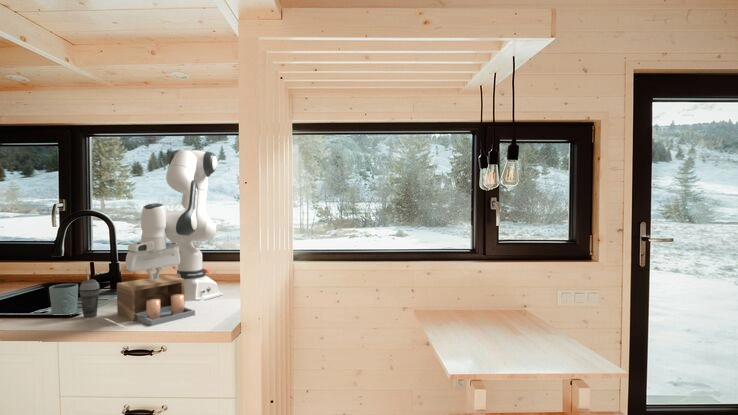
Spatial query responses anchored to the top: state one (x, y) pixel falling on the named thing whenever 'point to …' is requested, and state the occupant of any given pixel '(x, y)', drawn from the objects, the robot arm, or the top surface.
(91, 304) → the beverage cup
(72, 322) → the top surface
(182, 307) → the peach glossy rounded part
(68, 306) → the teal cup
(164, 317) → the tray
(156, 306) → the peach rounded capsule
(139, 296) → the open wooden box
